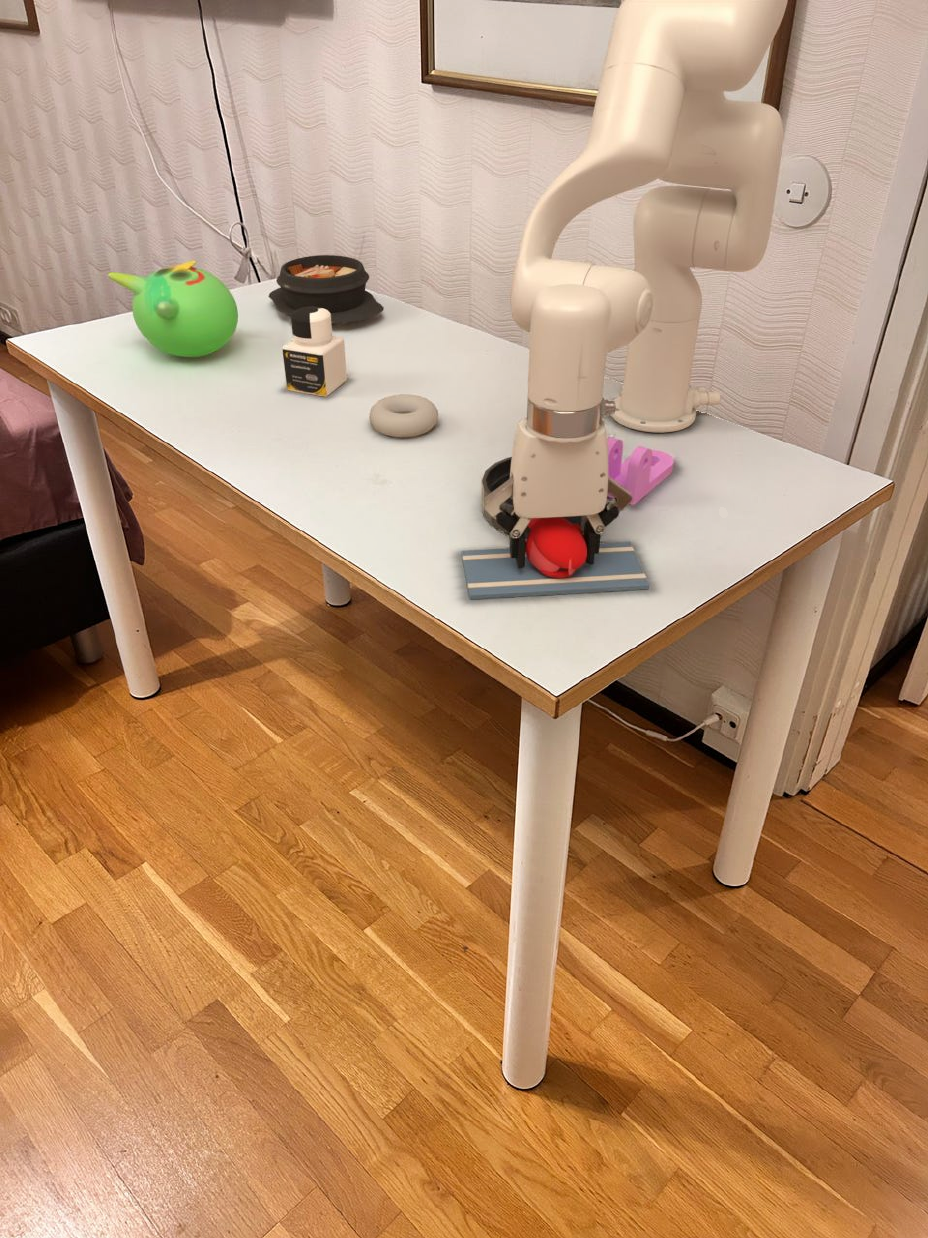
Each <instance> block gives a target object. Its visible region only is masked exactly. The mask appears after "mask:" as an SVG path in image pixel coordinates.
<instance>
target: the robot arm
mask: <svg viewBox="0 0 928 1238" xmlns="http://www.w3.org/2000/svg"><path fill="white" fill-rule="evenodd" d="M787 5H788V0H620V5H619V7H618V9H617V11H616V13H615V16H614V19H613V22H612V26H611V31H610V36H609V40H608V44H607V48H606V52H605V57H604V61H603V62H604V63H603V66H602V71H601V75H600V80H599V85H598V89H597V93H596V98H595V103H594V108H593V112H592V116H591V120H590V126H589V130H588V136H587V140H586V144H585V147H584V149H583V150H582V152H581V154H580V155H579V156H578V157H577V158H576V159H575V160H573V162H571V163H570V164H568V166H567V167H565V169H563V170H562V171H561V172H560V173H559V174H558V175H557V176H556V177H555V178H554V179H553V180H552V181H551V183H550V184H549V185H548V186H547V188H546V189H545V190H544V191H543V193H542V194H541V196H540V197H539V199H538V200H537V201H536V203H535V204H534V206H533V207H532V209H531V212H530V213H529V215H528V216H527V219H526V221H525V224H524V227H523V229H522V233H521V237H520V241H519V242H520V243H519V246H518V252H517V256H516V261H515V265H514V270H513V273H512V274H513V276H512V280H511V288H510V295H509V296H510V297H509V305H510V307H509V308H510V312H511V316H512V319H513V321H514V322H515V324H516V325H517V326H518V328H520V329H522V330H523V331H524V332H528V333H529V349H528V350H529V352H528V372H527V373H528V374H527V375H528V376H527V395H526V397H527V399H526V418H522V419H520V420H519V422H518V424H517V427H516V430H515V431H516V432H515V435H514V441H513V445H512V446H513V447H512V451H511V452H512V453H511V457H512V459H511V469H510V479H509V480H507V481H506V482H505V483H503V484H502V485H501V486H499V487H498V488H497V489H495V490H494V491H493V492H491V493H490V494H489V495H487V496H486V497H485V498H484V499H483V505H484V508H485V510H486V511H487V512H488V513H489V514H490V515H491V516H492V517H493V518H494V519H495V520H496V521H497V523H498V524H499V525H500V526H502V527H503V528H504V529H505V530H506V531H508V532H509V533H510V535H509V548H510V556H511V558H516V562H517V566H518V569H521V568H523V567H525V551H526V540H527V539H526V538H525V534H524V530H525V529H526V527H527V525H528V524H529V522H530V521H531V519H532V518H551V517H570V516H587V518H588V520H586V523H584V532H583V537H584V540H585V543H586V546H587V558H586V563H587V564H588V565H592V564H594V555H595V554H598V553H599V547H600V543H601V537H602V534H604V533H605V531H606V528H607V527H608V526H609V525H610V524H611V523H612V522H613V521H615V520H616V519H617V518H618V517H619V515H620V513H621V512H623V511H624V510H625V509H626V508H627V507H628V506H629V505H630V504H629V503H630V502H631V501H632V499H633V498H632V495H631V493H630V492H629V490H627V489H626V488H625V487H623V486H622V485H620V484H619V483H618V482H616V481H615V480H614V479H612V478H611V477H610V476H608V444H607V438H608V435H607V427H606V424H605V421H604V418H605V416H608V415H610V416H611V417H612V419H613V420H614V421H615V422H617V423H618V424H620V425H621V426H624V427H625V428H628V429H631V430H634V431H635V430H636V431H639V432H646V433H654V434H655V433H662V434H663V433H664V434H665V433H673V432H677V431H678V432H679V431H681V430H685V429H686V428H688V427H690V426H691V425H692V424H693V423H694V422H695V421H696V416H697V408H699V407H700V406H703V405H705V406H718V405H720V403H721V393H720V391H718V390H717V391H716V390H715V391H708V390H707V387H706V386H696V387H692V385H691V377H692V372H693V365H694V357H695V351H696V345H697V338H698V332H699V326H700V319H701V314H702V308H703V307H702V306H703V296H702V295H703V294H702V290H701V287H700V285H699V282H698V280H697V278H696V276H695V275H694V272H693V271H692V269H691V268H693V269H696V268H697V269H704V270H705V269H706V270H715V271H721V272H731V273H732V272H733V273H745V272H749V271H751V270H754V269H755V268H756V267H757V266H758V265H759V264H760V263H761V262H762V260H763V258H764V255H766V250H767V248H768V244H769V239H770V234H771V229H772V222H773V216H774V209H775V208H774V207H775V203H776V195H777V187H778V182H779V181H778V180H779V174H780V168H781V161H782V156H783V155H782V154H783V153H782V152H783V145H784V144H783V143H784V125H783V119H782V117H781V114H780V112H779V111H778V110H777V109H776V108H775V107H774V106H772V105H771V104H769V103H764V102H760V101H759V102H757V101H744V100H743V101H742V100H731V99H727V98H726V96H725V92H726V93H727V92H728V93H729V92H737V91H740V90H741V89H743V88H745V87H746V86H747V85H748V84H749V82H751V80H753V77H754V76H755V75H756V73H757V71H758V69H759V67H760V65H761V64H762V62H763V60H764V58H765V55H766V54H767V51H768V49H769V47H770V46H771V43H772V42H773V41H774V38H775V36H776V34H777V32H778V30H779V28H780V26H781V23H782V21H783V18H784V15H785V12H786V9H787ZM656 180H660V181H663V182H664V183H669V184H673V185H662V186H657V187H654V188H652V189H650V190H649V191H647V192H645V193H644V194H643V195H642V197H641V198H640V199H639V200H638V202H637V205H636V207H635V209H634V215H633V228H632V229H633V231H632V233H633V252H634V270H632V269H630V268H624V267H618V266H608V265H601V264H596V263H591V262H581V261H572V260H565V259H556V258H553V253H554V248H555V247H556V244H557V241H558V239H559V238H560V236H561V234H562V232H563V230H564V229H565V228H566V227H567V226H568V225H569V224H570V223H571V221H572V220H573V219H575V218H576V217H577V216H578V215H580V213H582V212H584V211H585V210H587V209H589V208H590V207H592V206H595V205H596V204H598V203H600V202H603V201H605V200H607V199H610V198H612V197H616V196H618V195H621V194H623V193H625V192H629V191H632V190H634V189H638V188H640V187H644V186H646V185H648V184H650V183H653V182H655V181H656ZM674 184H676V185H674ZM626 345H627V347H626V356H625V365H624V374H623V382H622V392H621V395H618V396H617V397H615V398H614V399H613V400H608V399H604V387H605V377H606V376H605V375H606V364H607V363H606V362H607V355H608V354H609V353H612V352H614V351H615V350H616V351H617V350H618V349H620V348H623V347H625V346H626ZM608 493H609V494H611V495H612V496H613V497H614V498H611V501H609V502H607V501H608V497H607V494H608ZM509 498H510V499H513V504H514V510H513V512H512V513H511V514H510V513H508V512H507V511H506V510H505V509H504V508H502V507H501V506H500V505H501V504H502V503H503V502H505V501H506V500H507V499H509Z"/></svg>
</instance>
